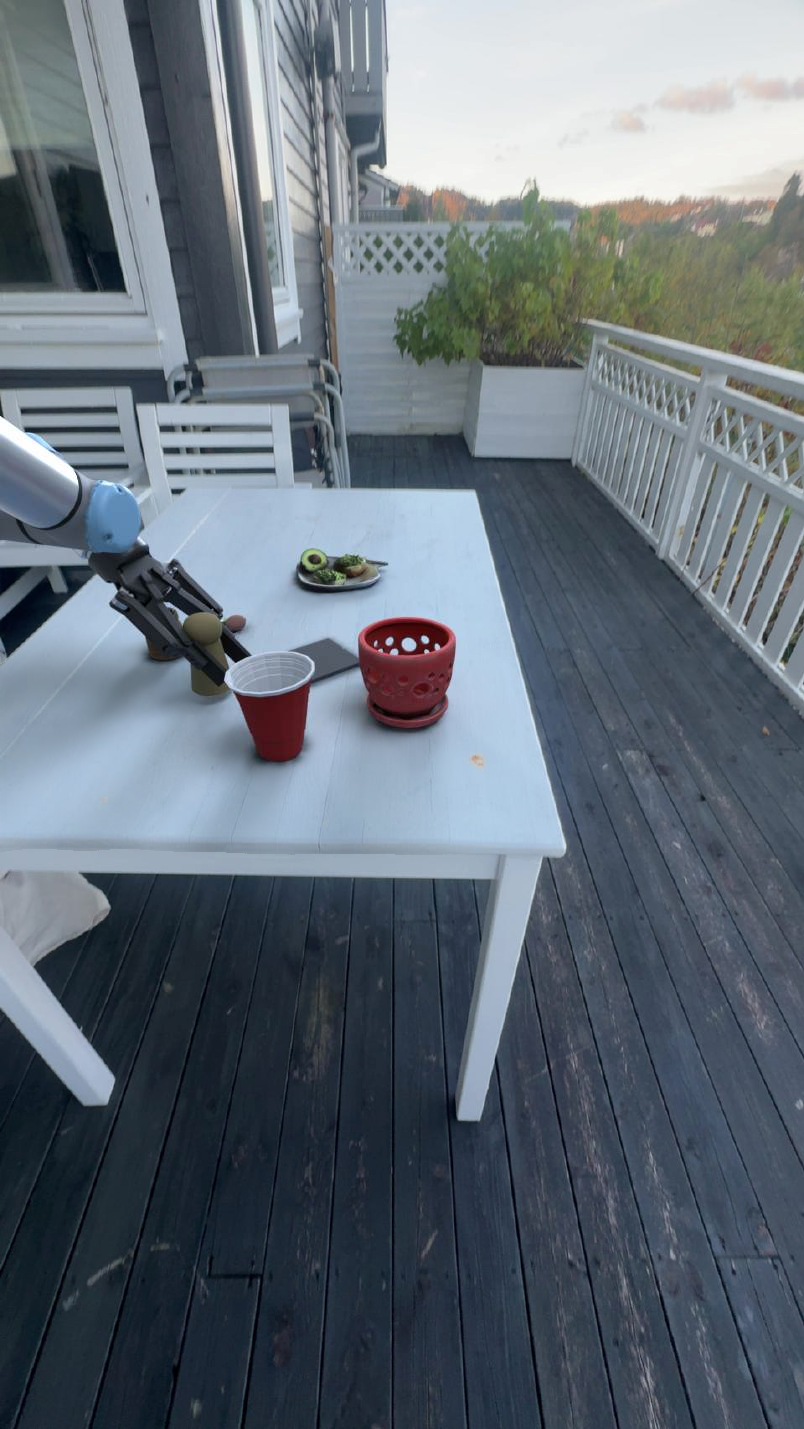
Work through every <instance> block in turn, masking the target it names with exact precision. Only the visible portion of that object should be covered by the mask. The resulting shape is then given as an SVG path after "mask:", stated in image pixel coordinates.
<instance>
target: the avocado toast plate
mask: <svg viewBox="0 0 804 1429" xmlns="http://www.w3.org/2000/svg"><path fill="white" fill-rule="evenodd" d="M388 565H389V562H388V561H381V560H373V559H369V558H367V556H361V555H359V554H357V555H356V554H350V553H345V554H344V555H339V556H336V555H335V556H334V555H327V554H326V553H325V552H324V551H323V550H321V549H318V548H307V549H306V550H304V551H303V552H302V554H301V555H300V560H299V561H298V562H297V563H296V566H295V569H296V575H297V578H298V582H299V583H300V585H301V587H303V588H305V589H307V590H308V591H312V592H318V593H330V592H343V591H349V590H357V589H360V588H366V587H370V586H371V585H373V584H374V583H376V582H377V581H379V580H380V579H381V575H380V573H379V570H378V569H379V568H382V567H387V566H388Z"/></svg>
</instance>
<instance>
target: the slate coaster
mask: <svg viewBox="0 0 804 1429" xmlns="http://www.w3.org/2000/svg"><path fill="white" fill-rule="evenodd" d="M287 652H297V653H300V654H303V655H306V656H308V657H309V658H310V659H311V660H312V661H313V662H314V668H315V671H314V675H313V676H312V680H311V684H313V683H316V682H318V681H321V680H324V679H326V678H330V677H332V676H334V675H337V674H340V673H342V672H346V671H348V670H350V669H353V668H356V667H360V664H359V656H356V655H355V654H353V653H351V652H350V651H349V650H347V649H346V648H344V647H343V646H342V645H339V644H338V643H336V642H335V641H334V640H332V639H330V638H329V637H327V638H324V639H321V640H317V641H315V642H312V643H309V644H306V645H302V646H299V647H297V648H295V649H294V648H293V649H291V650H288V651H287Z"/></svg>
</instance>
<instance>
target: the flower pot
mask: <svg viewBox="0 0 804 1429" xmlns="http://www.w3.org/2000/svg"><path fill="white" fill-rule="evenodd" d="M423 637H426V638H427V639H428V642H427V643H425V642H424V641H423V640H422V638H423ZM389 638H391V639H392V643H390V644H387V640H388V639H389ZM405 639H411V640H413V641H414V642H415V647H414V649H412V650H407V649H405V648H404V647H403V641H404V640H405ZM375 643H376V644H375ZM436 645H438V646H439V648H438V649H436ZM456 648H457V638H456V635H455V632H454V631H453V630H452V628H450V627H449V626H447V625H445V624H443V623H442V622H439V621H436V620H432V619H429V618H425V617H419V616H418V617H416V616H398V617H397V616H396V617H389V618H385V619H380V620H378V621H375V622H373V623H370V624H369V625H367V626H366V627H364V628H363V629H362V630H361V631H360V633H358V637H357V652H358V653H357V654H358V658H359V664H360V665H359V670H360V673H361V677H362V681H363V684H364V687H365V689H366V692H367V696H366V701H365V702H366V703H365V704H366V708H367V711H369V713H370V714H371V715H372V717H374V718H375V719H376V720H377V721H380V722H381V723H383V724H385V725H389V726H391V727H396V728H404V729H413V728H420V727H421V728H422V727H424V726H428V725H431V724H432V723H434V722H436V721H437V720H439V719H440V718H441V717H442V716H443V715H444V714H445V713H446V712H447V710H448V707H449V697H448V695H447V691H448V689H449V687H450V685H451V681H452V677H453V673H454V672H453V669H454V666H455V665H454V664H455V661H456V660H455V659H456V652H457V651H456ZM379 650H382V651H379ZM392 650H397V654H391V652H392ZM425 651H428V652H427V653H425Z"/></svg>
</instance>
